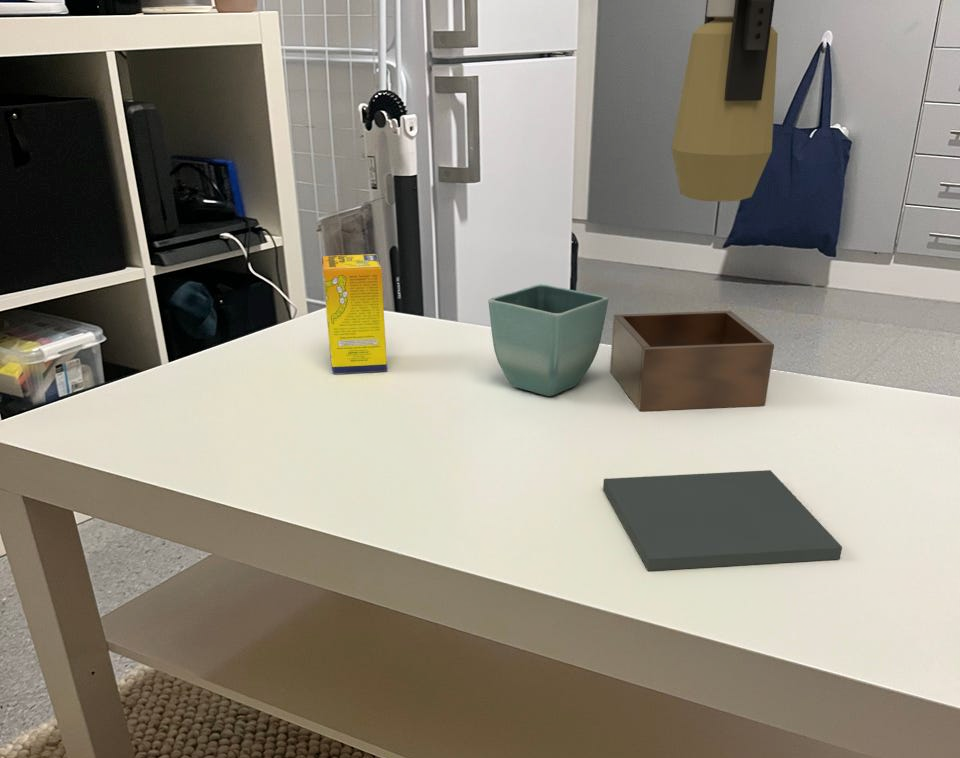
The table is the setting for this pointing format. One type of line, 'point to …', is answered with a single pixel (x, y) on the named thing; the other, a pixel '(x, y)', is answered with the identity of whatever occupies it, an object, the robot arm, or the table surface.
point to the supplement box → (355, 313)
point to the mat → (717, 520)
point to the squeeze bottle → (721, 118)
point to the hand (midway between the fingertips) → (728, 95)
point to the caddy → (690, 360)
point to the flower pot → (546, 336)
